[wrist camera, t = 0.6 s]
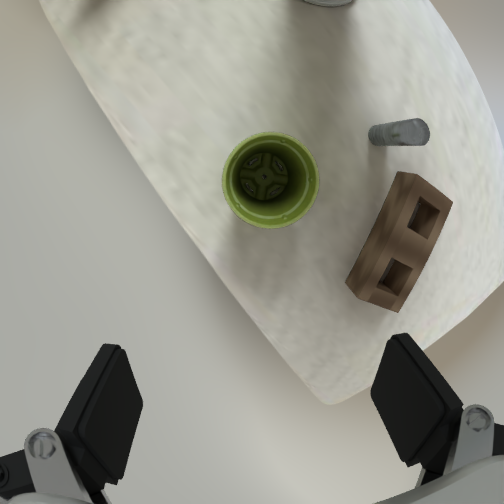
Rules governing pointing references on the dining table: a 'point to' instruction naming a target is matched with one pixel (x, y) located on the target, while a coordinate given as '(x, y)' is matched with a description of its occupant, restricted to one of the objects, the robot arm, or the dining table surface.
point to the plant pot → (270, 180)
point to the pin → (400, 133)
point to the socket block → (399, 242)
